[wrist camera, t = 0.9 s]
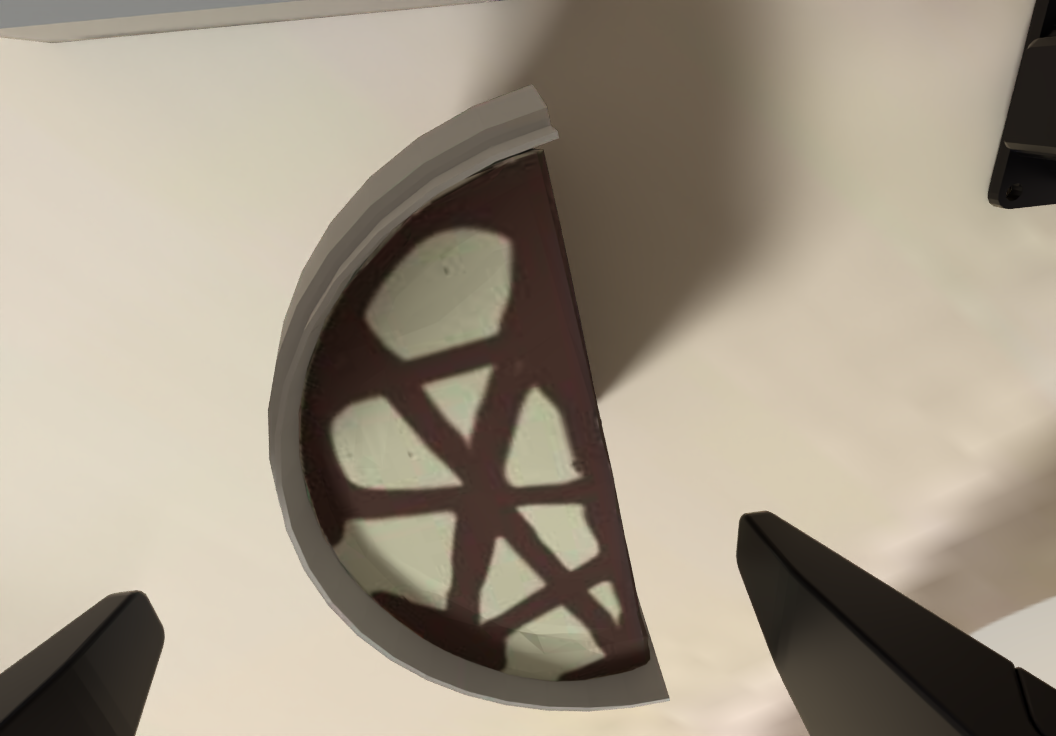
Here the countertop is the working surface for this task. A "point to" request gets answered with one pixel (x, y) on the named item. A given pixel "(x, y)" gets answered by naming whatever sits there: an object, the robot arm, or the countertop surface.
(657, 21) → the countertop surface
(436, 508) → the food container
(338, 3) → the tray
